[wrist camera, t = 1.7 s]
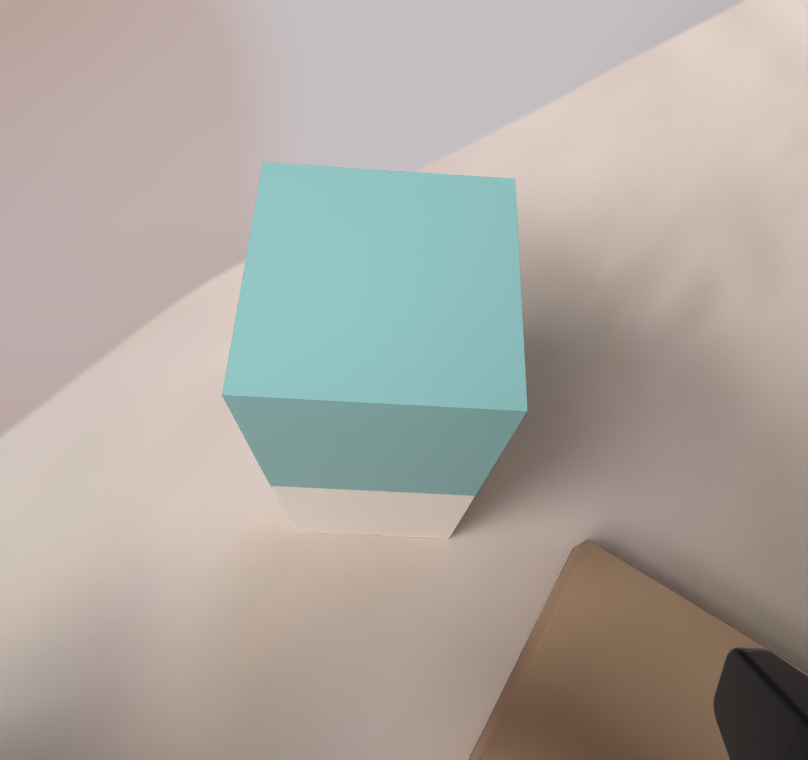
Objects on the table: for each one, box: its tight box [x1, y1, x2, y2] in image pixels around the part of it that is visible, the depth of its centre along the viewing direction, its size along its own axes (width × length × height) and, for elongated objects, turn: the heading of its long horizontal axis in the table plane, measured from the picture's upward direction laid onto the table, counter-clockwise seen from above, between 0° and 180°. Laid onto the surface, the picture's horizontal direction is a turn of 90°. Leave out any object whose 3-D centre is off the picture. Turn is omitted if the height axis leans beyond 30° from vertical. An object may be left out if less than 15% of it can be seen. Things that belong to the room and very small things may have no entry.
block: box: [222, 162, 528, 539], centre depth 16 cm, size 5×5×11 cm
